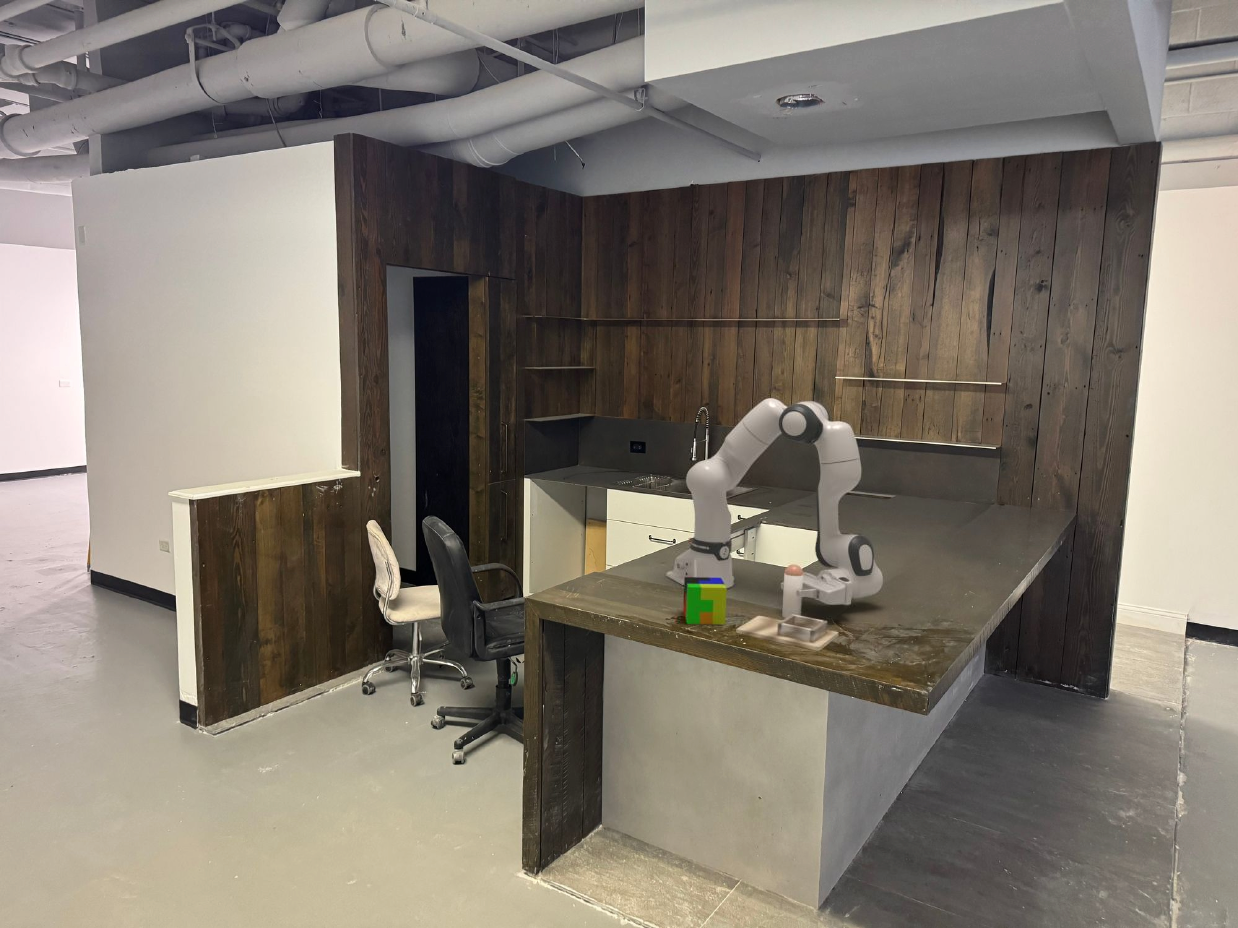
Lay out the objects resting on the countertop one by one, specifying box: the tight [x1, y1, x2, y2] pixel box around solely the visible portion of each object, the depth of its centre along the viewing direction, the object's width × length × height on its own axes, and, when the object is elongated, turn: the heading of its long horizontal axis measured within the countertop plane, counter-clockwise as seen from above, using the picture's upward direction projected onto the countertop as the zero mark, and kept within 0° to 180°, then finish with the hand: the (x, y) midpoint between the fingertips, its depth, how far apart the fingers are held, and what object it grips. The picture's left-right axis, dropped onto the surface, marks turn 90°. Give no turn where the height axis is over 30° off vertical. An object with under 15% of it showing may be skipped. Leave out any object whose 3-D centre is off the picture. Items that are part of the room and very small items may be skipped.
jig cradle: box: [735, 614, 839, 652], centre depth 218 cm, size 22×14×4 cm, turn 57°
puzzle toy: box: [682, 577, 728, 626], centre depth 229 cm, size 10×10×10 cm
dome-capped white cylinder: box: [781, 563, 804, 619], centre depth 232 cm, size 5×5×14 cm
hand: (790, 589), depth 232 cm, fingers open, 6 cm apart
